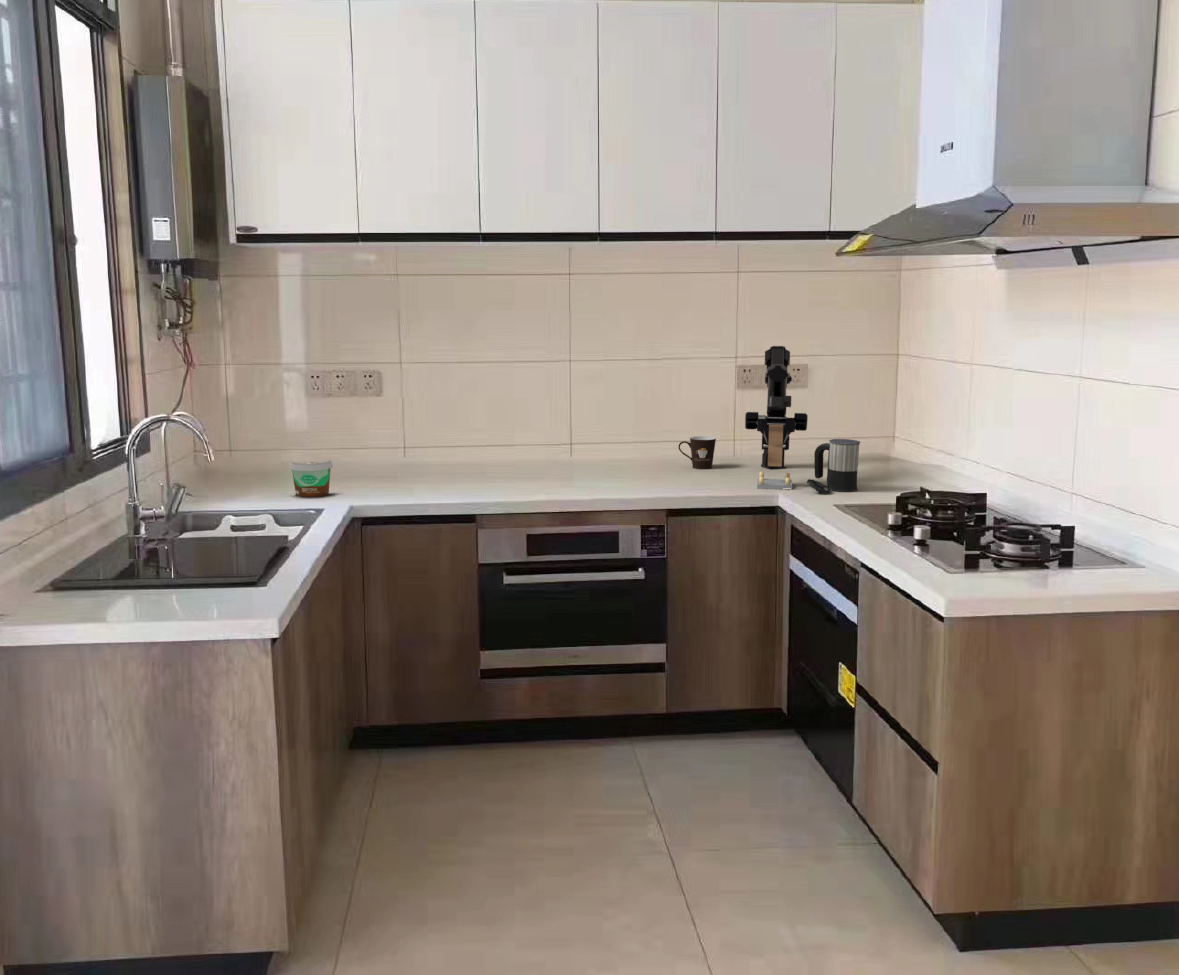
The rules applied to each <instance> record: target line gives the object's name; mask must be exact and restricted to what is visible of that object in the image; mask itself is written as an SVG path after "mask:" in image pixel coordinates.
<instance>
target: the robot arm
mask: <svg viewBox="0 0 1179 975" xmlns="http://www.w3.org/2000/svg"><path fill="white" fill-rule="evenodd" d="M790 363H791V351H790V350H788V349H787V348H786V346H784V345H772V346H770V347H769V349H767V350H765V351H764V366H766V372H765V374H764V384H765V385H766V386H767V401H766V402H767V403H766V415H765V414H759V411H747V412H745V419H744V422H745V423H744V428H745V429H746V430H756V431H757V432H760V433H761V450H762V451H763V453H761V454H762V455H761V457H762V459H761V460H762V461H761V464H760V466H761V467H763V468H766V469H770V470H772V469H775V470H777V469H786V468H787V466H785V454H786V453H785V451H788V450H790V435H791V433H795V431H802V432H803V431H807V429H808V417H809V416H808V414H807V413H806V412H794V417H788V416H786V415H787V408H792V395H787V387H788V385H790V384H791V382H792V379H793V377H792V376H791V373H789V372H788V367H789V366H790V365H791V364H790ZM769 425H783V447H782V467H781V466H768V443H769Z"/></svg>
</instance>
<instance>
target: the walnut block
mask: <svg viewBox="0 0 1179 975" xmlns="http://www.w3.org/2000/svg"><path fill="white" fill-rule="evenodd" d="M767 446H768V466H781V467H782V447H783V446H784V445H783V425H769V443H768V445H767Z"/></svg>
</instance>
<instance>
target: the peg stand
mask: <svg viewBox="0 0 1179 975" xmlns="http://www.w3.org/2000/svg"><path fill="white" fill-rule="evenodd" d="M790 475H791V473H790V472H785V473H784V479H783V478H782V479H781V478H779V479H778V478H765V472H764V471H759V475H758V476H759V478H757V479H756V483H757V484H756V488H757V489H761V490H762V489H763V490H764V489H765V490H784V489H783V488H792V489H793V483H792V481H793V480H792V479H791V477H790Z"/></svg>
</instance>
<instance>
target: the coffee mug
mask: <svg viewBox="0 0 1179 975" xmlns="http://www.w3.org/2000/svg"><path fill="white" fill-rule="evenodd" d="M716 440H717V438H716V437H714V436H707V435H701V436H700V435H699V436H697V435H696V436H691V437H689V441H686V440H684V441H680V442H679V444H678V450H679V451H680V453H681V454H682V455H683V456H685V457H687V458H688V459H689V460H690V461H691V464H692V469H695V470H711V469H713V461H714V454H715V449H716V448H715V447H716ZM683 444H687V445H688V447H689V448H690V453H691V454H690V455H691V456H690V455H688V454H686V453H685V452H684V451H683V450H682V449H681V445H683Z"/></svg>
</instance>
